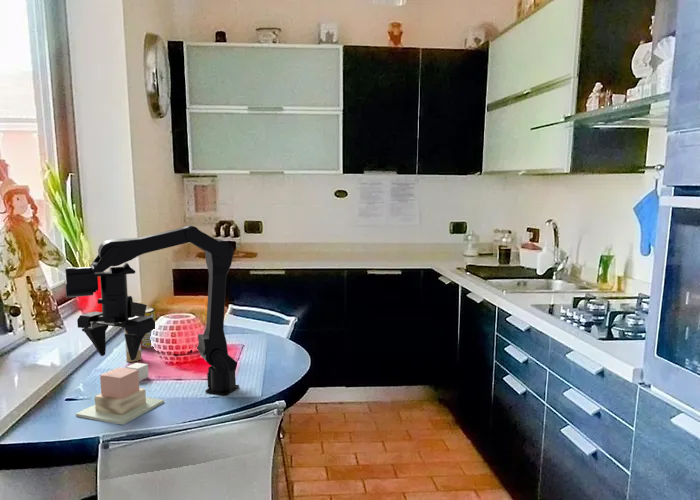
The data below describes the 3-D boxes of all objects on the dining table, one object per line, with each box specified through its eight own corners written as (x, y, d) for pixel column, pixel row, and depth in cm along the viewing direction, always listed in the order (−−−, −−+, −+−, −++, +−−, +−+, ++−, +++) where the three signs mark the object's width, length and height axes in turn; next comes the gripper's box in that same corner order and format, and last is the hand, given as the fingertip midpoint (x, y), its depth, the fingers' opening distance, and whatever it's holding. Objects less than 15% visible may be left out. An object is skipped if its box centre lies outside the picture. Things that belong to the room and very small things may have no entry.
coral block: (139, 389, 137) (138, 369, 137) (121, 398, 132) (120, 378, 131) (119, 386, 139) (118, 367, 139) (101, 395, 134) (100, 375, 133)
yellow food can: (122, 348, 186) (120, 312, 185) (138, 340, 195) (136, 306, 193) (146, 349, 184) (144, 313, 183) (161, 342, 193) (160, 307, 191)
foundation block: (146, 402, 138) (145, 388, 138) (122, 415, 131) (121, 400, 130) (120, 398, 141) (119, 384, 141) (95, 410, 134) (94, 396, 133)
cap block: (148, 377, 158) (147, 364, 157) (138, 382, 154) (137, 368, 154) (137, 376, 159) (136, 362, 159) (126, 381, 155) (126, 367, 155)
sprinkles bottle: (141, 357, 176) (138, 315, 175) (142, 361, 172) (140, 318, 171) (125, 359, 174) (123, 316, 173) (126, 363, 170) (124, 320, 169)
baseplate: (164, 402, 140) (164, 399, 140) (122, 424, 127) (122, 422, 127) (119, 394, 145) (119, 392, 145) (75, 416, 132) (75, 413, 132)
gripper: (169, 289, 137) (172, 352, 138) (109, 285, 143) (112, 344, 145) (136, 298, 126) (140, 366, 128) (73, 293, 133) (77, 357, 135)
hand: (117, 357), depth 134 cm, fingers open, 9 cm apart
